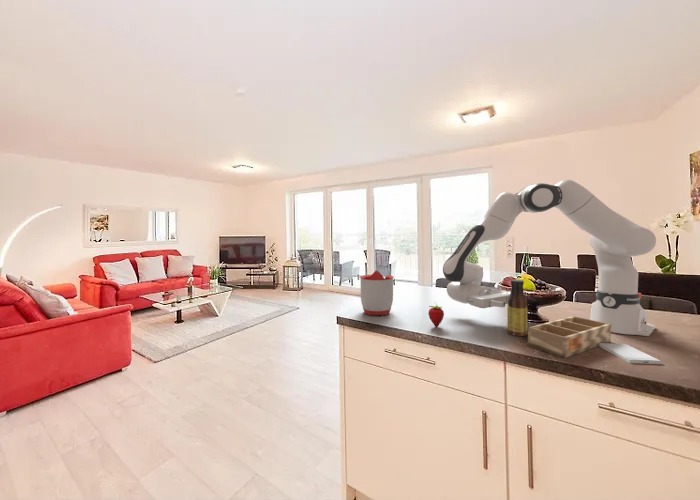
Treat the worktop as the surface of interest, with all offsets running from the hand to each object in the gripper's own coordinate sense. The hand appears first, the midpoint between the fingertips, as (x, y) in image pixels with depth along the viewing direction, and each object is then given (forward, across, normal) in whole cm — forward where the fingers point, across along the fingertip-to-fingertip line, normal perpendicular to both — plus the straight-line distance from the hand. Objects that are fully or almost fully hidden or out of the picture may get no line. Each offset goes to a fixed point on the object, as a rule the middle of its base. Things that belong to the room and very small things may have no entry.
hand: (512, 303), depth 109 cm
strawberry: (-18, -20, +11) cm, 29 cm away
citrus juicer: (-47, -29, +11) cm, 56 cm away
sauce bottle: (+2, 0, +11) cm, 11 cm away
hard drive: (+29, +12, +12) cm, 33 cm away
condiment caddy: (+16, +6, +11) cm, 20 cm away
